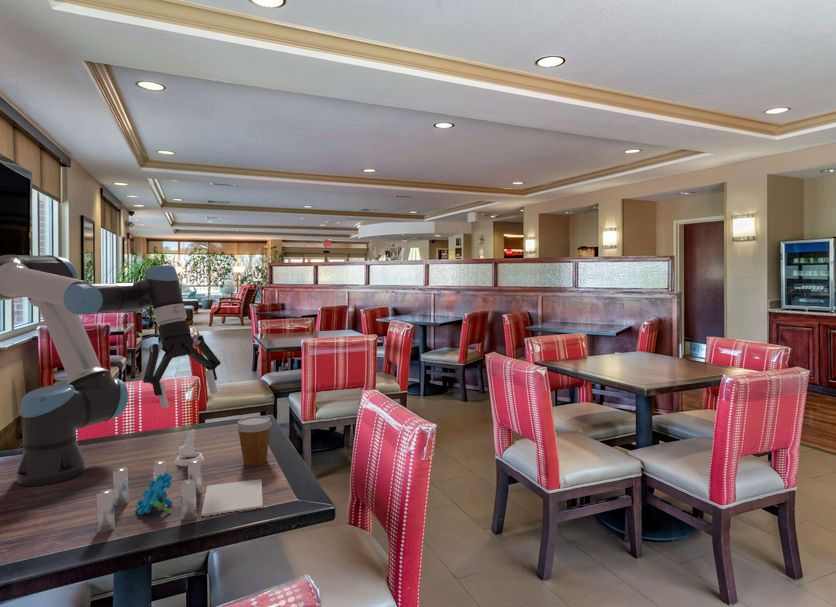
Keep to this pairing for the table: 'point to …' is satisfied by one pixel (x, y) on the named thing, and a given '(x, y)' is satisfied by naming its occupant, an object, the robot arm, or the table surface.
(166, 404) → the robot arm
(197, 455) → the hook
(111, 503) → the spacer posts
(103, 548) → the table surface
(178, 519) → the table surface
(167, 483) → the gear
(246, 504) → the rubber mat
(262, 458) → the disposable coffee cup
